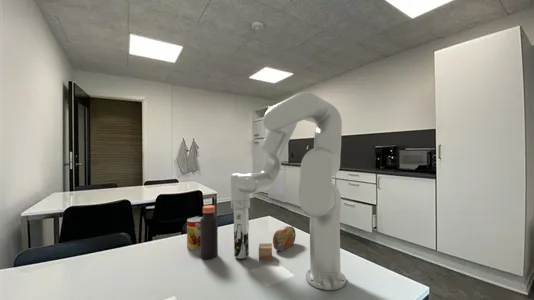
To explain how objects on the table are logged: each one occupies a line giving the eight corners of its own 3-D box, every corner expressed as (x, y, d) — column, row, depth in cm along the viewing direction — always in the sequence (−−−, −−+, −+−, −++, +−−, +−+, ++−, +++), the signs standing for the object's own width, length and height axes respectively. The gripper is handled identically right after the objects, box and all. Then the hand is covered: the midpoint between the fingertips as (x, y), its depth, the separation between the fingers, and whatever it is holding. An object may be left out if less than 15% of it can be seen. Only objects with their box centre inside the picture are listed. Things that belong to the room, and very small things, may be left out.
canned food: (200, 249, 102) (200, 221, 102) (183, 248, 103) (183, 221, 103) (207, 243, 110) (207, 217, 110) (192, 242, 111) (192, 216, 111)
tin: (277, 254, 96) (277, 233, 96) (271, 252, 98) (271, 232, 98) (296, 243, 108) (296, 224, 108) (290, 241, 110) (290, 223, 110)
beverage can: (246, 260, 90) (245, 228, 91) (232, 259, 91) (231, 228, 92) (250, 254, 96) (249, 224, 96) (237, 253, 97) (236, 224, 97)
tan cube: (271, 261, 90) (271, 248, 90) (258, 261, 90) (258, 248, 90) (271, 255, 95) (271, 243, 95) (259, 255, 95) (259, 243, 95)
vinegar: (219, 252, 98) (219, 204, 99) (214, 260, 91) (214, 208, 92) (204, 252, 99) (203, 204, 99) (197, 259, 92) (197, 208, 93)
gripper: (247, 208, 86) (248, 258, 85) (251, 200, 102) (252, 242, 102) (227, 208, 86) (228, 259, 85) (234, 200, 102) (235, 242, 102)
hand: (241, 249), depth 93 cm, fingers closed on beverage can, 3 cm apart
